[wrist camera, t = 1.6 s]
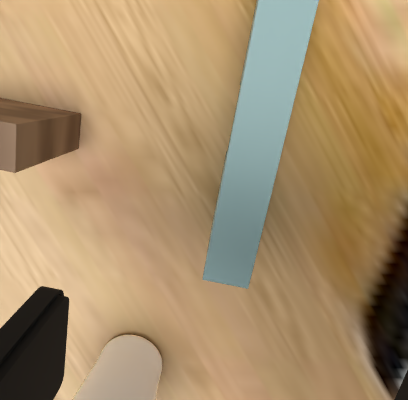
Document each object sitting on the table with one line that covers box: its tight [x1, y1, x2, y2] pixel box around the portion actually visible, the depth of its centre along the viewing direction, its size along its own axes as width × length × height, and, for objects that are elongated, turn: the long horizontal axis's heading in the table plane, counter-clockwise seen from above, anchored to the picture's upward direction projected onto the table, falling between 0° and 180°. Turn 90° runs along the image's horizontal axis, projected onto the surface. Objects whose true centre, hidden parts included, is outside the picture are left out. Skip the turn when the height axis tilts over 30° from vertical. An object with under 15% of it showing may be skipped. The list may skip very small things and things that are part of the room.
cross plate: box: [203, 0, 319, 289], centre depth 21 cm, size 16×2×8 cm, turn 170°
